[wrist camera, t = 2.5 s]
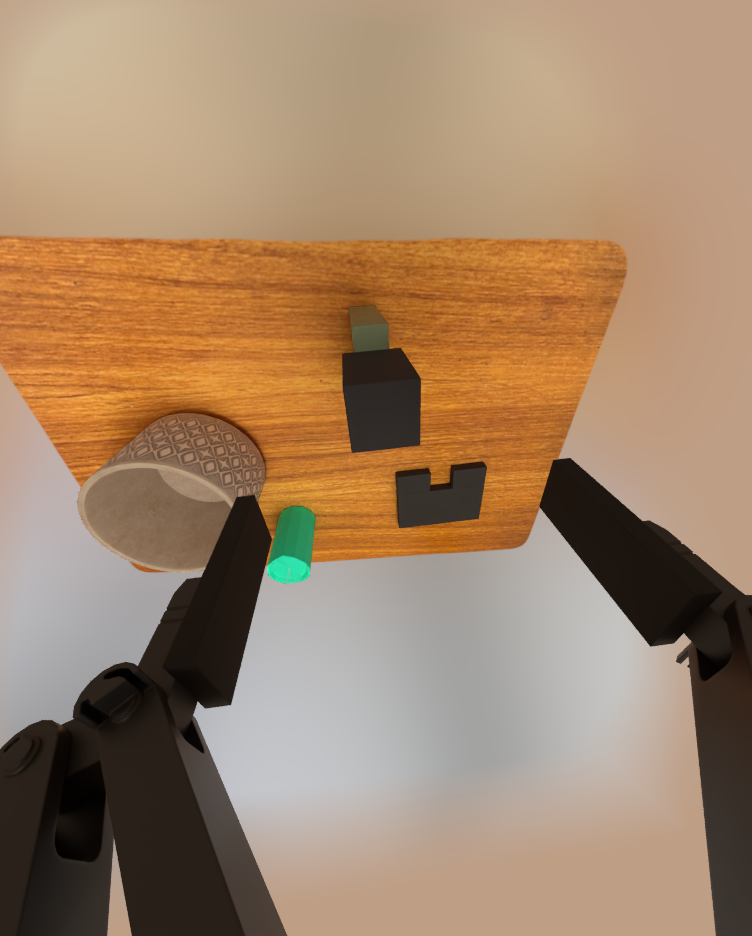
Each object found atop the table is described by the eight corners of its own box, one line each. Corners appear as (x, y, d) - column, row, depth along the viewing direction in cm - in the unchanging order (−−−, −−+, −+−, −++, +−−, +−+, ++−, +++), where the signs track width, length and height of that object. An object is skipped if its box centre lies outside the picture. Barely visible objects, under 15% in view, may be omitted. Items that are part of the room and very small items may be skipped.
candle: (320, 510, 51) (315, 571, 41) (309, 535, 54) (302, 596, 44) (284, 502, 50) (269, 563, 40) (275, 527, 52) (260, 590, 43)
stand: (374, 304, 35) (388, 323, 25) (380, 382, 40) (392, 423, 30) (348, 307, 35) (351, 326, 25) (357, 384, 40) (362, 426, 30)
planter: (242, 399, 39) (207, 450, 29) (281, 496, 49) (265, 561, 38) (116, 419, 39) (35, 477, 29) (179, 512, 49) (135, 582, 38)
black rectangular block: (401, 347, 26) (421, 377, 20) (403, 431, 31) (420, 478, 24) (342, 353, 26) (342, 385, 19) (353, 436, 30) (356, 485, 24)
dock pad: (483, 461, 49) (487, 467, 47) (475, 512, 55) (478, 518, 54) (395, 471, 48) (397, 477, 47) (398, 522, 54) (399, 528, 53)
